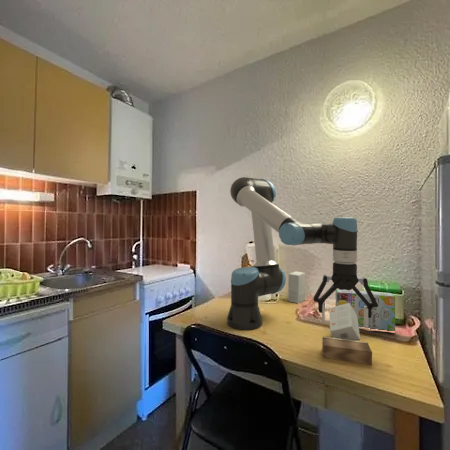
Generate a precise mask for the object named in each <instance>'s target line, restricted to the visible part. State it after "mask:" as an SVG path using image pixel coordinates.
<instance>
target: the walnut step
mask: <svg viewBox="0 0 450 450" xmlns="http://www.w3.org/2000/svg"><path fill="white" fill-rule="evenodd" d="M321 348H322V357H323V358H324V359H325V358H326V359H331V360H337V361H342V362H343V361H344V362H350V363H356V364H364V365H368V366H369V365H370V366H371V365H373V351H372V348H371V347H370V345H369V342H367V341H361V340H357V341H353V340H345V339H338V338H334V337H329V336H322V347H321Z"/></svg>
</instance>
